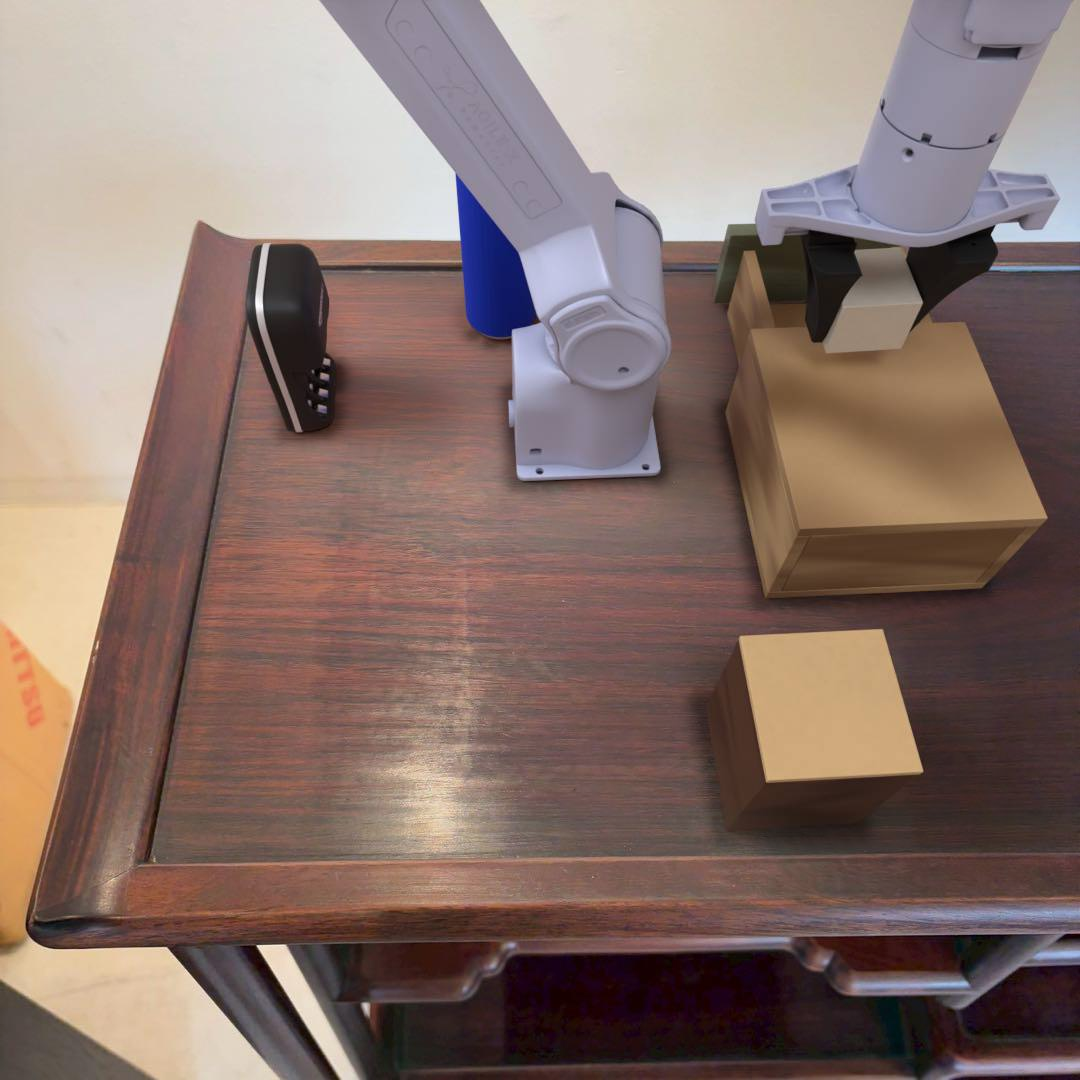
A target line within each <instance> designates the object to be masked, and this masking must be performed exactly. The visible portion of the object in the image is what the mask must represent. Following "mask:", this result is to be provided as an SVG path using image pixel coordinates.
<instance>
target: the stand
mask: <svg viewBox="0 0 1080 1080" xmlns="http://www.w3.org/2000/svg"><path fill="white" fill-rule="evenodd" d="M705 710H706V715H707V721H708V729H709V734H710V740H711V746H712V747H711V748H712V753H713V759H714V762H715V763H714V764H715V765H714V766H715V770H716V777H717V783H718V789H719V794H720V801H721V806H722V812H723V820H724V825H725V830H726V831H727V832H733V831H734V832H735V831H750V830H751V831H752V830H766V829H767V830H768V829H769V830H770V829H784V828H785V829H786V828H801V827H802V828H803V827H804V828H805V827H820V826H836V825H838V826H839V825H854V824H857V823H859V821H861V820H862V819H864V818H865V817H866V816H867V815H869V814H871V813H872V812H873V811H874V810H875V809H877V808H878V807H879V806H881V804H884V802H886V801H887V800H889V799H890V798H891V797H893V796H894V795H895V794H896V793H898V792H899V791H901V789H903V788H905V786H907V785H908V784H910V783H911V782H912V781H914V780H915V779H916V778H917V777H918V776H920V775H921V774H917V775H899V776H881V777H863V778H845V779H827V780H809V781H791V782H773V783H766V779H765V774H764V769H763V764H762V758H761V753H760V748H759V743H758V738H757V732H756V727H755V722H754V717H753V712H752V706H751V701H750V696H749V691H748V686H747V680H746V675H745V670H744V665H743V660H742V654H741V649H740V644H739V639H738V640H737V642H736V644H735V646H734V647H733V650H732V652H731V654H730V656H729V658H728V660H727V662H726V664H725V666H724V668H723V670H722V672H721V674H720V676H719V678H718V680H717V682H716V684H715V687H714V689H713V690H712V692H711V695H710V696H709V699H708V700H707V703H706V704H705Z"/></svg>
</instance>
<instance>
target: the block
mask: <svg viewBox="0 0 1080 1080" xmlns="http://www.w3.org/2000/svg"><path fill="white" fill-rule="evenodd" d="M854 253H855V256H856V258H857V261H858V264H859V266H860V269H861V272H862V274H863V275H862V276H861V277H860V278H859V279H858V280H857V282H856V283H855V284H854V285H853V286H852V288H851V289H850V290H849V292H848V293H847V295H846V297H845V298H844V300H843V302H842V304H841V305H840V307H839V310H838V312H837V315H836V318H835V320H834V322H833V324H832V326H831V328H830V330H829V332H828V334H827V336H826V337H825V339H824V340H823V342H822V343H823V346H824V349H825V352H826V353H842V352H858V351H875V350H891V349H901V348H902V346H903V344H904V342H905V340H906V338H907V336H908V333H909V331H910V329H911V327H912V325H913V323H914V321H915V319H916V317H917V315H918V312H919V310H920V308H921V306H922V304H923V301H922V298H921V296H920V294H919V291H918V289H917V286H916V284H915V281H914V279H913V276H912V274H911V271H910V269H909V266H908V264H907V262H906V259H905V257H904V254H903V252H902V249H901V248H900V247H899V248H882V249H865V250H855V252H854Z"/></svg>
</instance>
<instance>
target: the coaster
mask: <svg viewBox="0 0 1080 1080" xmlns="http://www.w3.org/2000/svg"><path fill="white" fill-rule="evenodd" d="M738 640H739V644H740V649H741V654H742V660H743V665H744V670H745V675H746V680H747V686H748V691H749V696H750V701H751V706H752V712H753V717H754V722H755V727H756V732H757V738H758V743H759V748H760V753H761V758H762V764H763V769H764V774H765V779H766V783H773V782H791V781H809V780H827V779H845V778H863V777H881V776H899V775H917V774H920V775H921V774H923V773H924V768H923V764H922V762H921V761H922V760H921V758H920V753H919V750H918V746H917V744H916V741H915V737H914V733H913V730H912V726H911V723H910V719H909V715H908V712H907V709H906V705H905V701H904V698H903V695H902V692H901V688H900V684H899V681H898V677H897V673H896V670H895V667H894V663H893V660H892V657H891V653H890V650H889V646H888V641H887V639H886V636H885V631H884V629H883V628H876V629H875V628H873V629H856V630H855V629H854V630H853V629H852V630H836V631H835V630H834V631H833V630H832V631H812V632H810V631H809V632H791V633H771V634H750V635H749V634H747V635H740V636H739V637H738Z"/></svg>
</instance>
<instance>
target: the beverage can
mask: <svg viewBox="0 0 1080 1080" xmlns="http://www.w3.org/2000/svg"><path fill="white" fill-rule="evenodd" d="M454 173H455V172H454ZM454 176H455V187H456V188H455V189H456V200H457V201H456V202H457V213H458V227H459V239H460V252H461V253H460V255H461V265H462V278H463V290H464V291H463V292H464V301H465V302H464V305H465V315H466V319H467V322H468V323H469V325H470V327H472V329H474V330H475V331H476V332H478V333H479V334H481V335H482V336H484V337H486V338H489V339H492V340H493V339H494V340H508V339H509V340H510V339H512V330H513V329H518V328H523V327H528V326H531V325H533V323H534V321H535V320H536V316H537V313H536V310H535V307H534V304H533V300H532V297H531V293H530V290H529V286H528V283H527V279H526V276H525V272H524V268H523V265H522V262H521V259H520V256H519V253H518V251H517V250H516V249H515V247H514V246H513V245H512V244H511V242H510V241H509V240H508V239H507V237H506V236H505V235H504V234H503V232H502V231H501V230H500V228H499V227H498V226H497V225H496V223H495V222H494V221H493V220H492V218H491V217H490V216H489V215H488V213H487V212H486V211H485V209H484V208H483V207H482V206H481V204H480V203H479V202H478V201H477V199H476V198H475V197H474V196H473V194H472V193H471V192H470V191H469V189H468V188H467V187H466V185H465V184H464V183H463V182H462V180H461V179H460V178H459V177H458V175H457V174H456V173H455V175H454Z"/></svg>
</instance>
